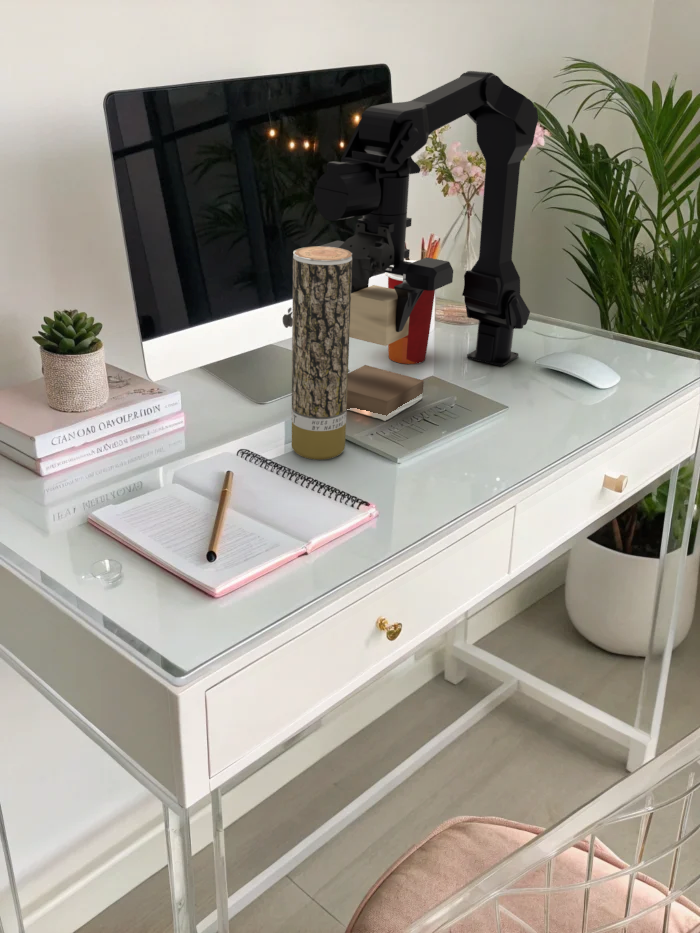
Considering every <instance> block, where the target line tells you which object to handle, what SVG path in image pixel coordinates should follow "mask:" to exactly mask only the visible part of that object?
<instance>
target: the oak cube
mask: <svg viewBox="0 0 700 933" xmlns="http://www.w3.org/2000/svg"><path fill="white" fill-rule="evenodd" d="M397 299H398V296H397V293H396V291H395V289H391V288H388V287H386V286H380V285H375V284H372V285H370V286H368V287H367V288H364V289H362V290H359V291H357V292H354V293H351V306H350V332H349V338H351V339H355V340H359V341H364V342H367V343H372V344H374V345H375V344H376V345H381V346H383V347H387V346H388V345H389V344H391V343H393V342H395V341H397V340H399V339H401V338H403V337H405V336H407V335H408V330H409V318H408V320H407V322H406V324H405V326H404V328H403V330H402V331H400V332H396V310H397Z"/></svg>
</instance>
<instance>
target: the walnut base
mask: <svg viewBox="0 0 700 933" xmlns="http://www.w3.org/2000/svg"><path fill="white" fill-rule="evenodd" d="M424 383H425V381H424V379H421V378H420V379H419V378H415V377H412V376H409V375H405V374H401V373H397V372H394V371H390V370H386V369H383V368H378V367H374V366H371V365H366V364H364V365H363V366H360V367H358V368H356V369H354V370H352V371H350V372H348V385H347V409H350V408H357V409H360V410H366V411H370V412H373V413H378V414H382V415H386V416H387V415H388V414H389V413H391V412H392V411H394V410H396V409H397V408H398V407H400V406H402V405H403V404H405V403H407V402H409V401H410V400H412V399H414V398H416V397H417V396H419V395H420V394H422V393H423V394H424Z"/></svg>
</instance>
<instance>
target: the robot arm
mask: <svg viewBox="0 0 700 933" xmlns="http://www.w3.org/2000/svg"><path fill="white" fill-rule="evenodd" d="M465 115H466V116H468V117H469V119H471V121H472V122H473V123H474V124H475V129H476V131H475V132H476V133H475V134H476V143H477V145H478V147H479V150H480V153H481V154H482V156H483V158H484V161H485V169H484V170H485V172H484V183H483V184H484V185H483V198H482V199H483V200H482V213H481V223H480V224H481V226H480V227H481V228H480V240H479V254H478V260H477V261H476V262H475V264H474V265H473V267H472V268H471V269H470V270H466V271H465V273H464V275H463V279H464V280H463V281H464V282H463V284H464V285H463V291H462V294H461V296H462V297H464V298H463V299H464V305H465V310H466V311H465V312H466V317H467V318H469V319H473V320H476V321H478V322H477V323H478V324H477V325H478V326H477V333H476V335H477V336H476V344H475V350H473V351H471V352H469V353H468V354H466V358H467V359H470V360H473V361H476V362H477V361H478V362H483V363H485V364H491V365H494V366H498V367H504V366H506V365H508V363H510V362H512V361H513V360H515V359H517V358H519V353H518V352H515V351H512V348H513V347H512V346H513V339H514V331H515V330H516V329H517V330H520V329H524V326H526V325H527V323H528V320H529V317H530V314H531V311H530V309H529V307H528V305H527V304H526V302H525V301H524V299H523V297H522V296H521V277H520V275H519V272H518V270H517V268H516V267H515V266H516V265H515V264H514V262H513V260H512V259H513V247H514V246H513V245H514V235H515V227H516V226H515V222H516V213H517V202H518V201H517V200H518V193H519V192H518V190H519V181H520V168H521V162H522V161H523V159H524V158H525V156H526V155H527V154H528V152H529V151H530V148H532V146H533V144H534V140H535V136H536V135H535V134H536V131H537V130H536V129H537V126H538V122H539V116H538V115H539V114H538V109H537V107H536V106H535V105H534V103H533V101H531V99H529V98H528V99H527V97H526V96H525V95H523V94H522V93H521V92H519V91H517V90H516V89H514V88H512V87H510V86H509V85H507V84H505V83H504V82H503V80H502V79H501V78H500V77H499V76H498V75H496V74H495V73H493V72H490V71H489V72H487V71H477V70H476V71H475V70H468V71H466V72H463V73H462V74H461V75H460V76H459V77H458V78H455V79H453V80H451V81H449V82H447V83H445V84H443V85H440V86H438V87H436V88H435V89H432V90H430V91H428V92H426V93H424V94H422V95H420V96H418V97H416V98H413V99H411V100H408V101H401V102H388V103H387V102H386V103H382V104H376V105H371V106H369V107H367V108H366V109H365V110H364V111H363V112H362V114H361V119H360V120H359V123H358V124H357V126H356V128H355V130H354V132H353V134H352V136H351V138H350V139H349V142H348V143H347V146H346V148H345V150H344V151H343V154H342V156H341V158H340V161H333V160H332V161H328V162H327V163H326V172H324V173H323V174H321V176H320V177H319V178H318V180H317V182H316V185H315V187H314V190H313V191H314V193H313V196H314V202H315V206H316V208H317V211H318V212H319V214H320V215H321V217H323V218H324V219H326V220H327V221H331V222H333V221H340V220H345V219H351V218H357V217H361V218H358V219H357V221H356V224H355V232H354V233H353V234H354V235H353V236H350V237H349V238H347V239H346V240H344V241H343V240H342V241H341V240H334V241H331V242H327V243H325V244H321V245H320V246H324V247H335V248H341V249H345V250H348V251H350V252H351V253H352V279H351V293H354V292H357V291H359V290H362V289H364V288H367V287H369V283H370V279H371V278H372V277H373V275H374V274H375V273H376V271H377V272H382V273H385V272H387V273H392V274H396V275H401V276H403V283H401V284H399V285H396V286H394V289H395V291H396V293H397V296H398V299H397V310H396V332H400V331H402V330H403V328H404V326H405V324H406V322H407V320H408V318H409V316H410V314H411V312H412V310H413V308H414V306H415V304H416V302H417V301H418V299H419V297H420V296H421V294H422V293H423V291H424V290H427V291H434V290H435V291H436V290H438V289H441V288H443V287H445V286H448V285H450V284H452V283H453V278H454V269H453V267H452V264H451V262H450V261H449V260H442V259H437V258H432V257H428V256H427V257H424V258H421V259H419V260H415V261H416V262H413V263H412V262H407V261H404V260H405V259H408V258H409V257H410V248H409V249H408V248H406V233H407V228H410V227H412V217H408V202H409V189H410V188H409V186H410V185H409V184H410V175H413V174H414V175H415V174H420V172H421V167H420V166H419V165H418V163H416V161H414V159H413V158H412V156H414V155H415V154H417V153H418V151H420V150H421V149H422V148H423V147H424V146H426V144H427V143H428V140H429V138H430V135H431V134H432V133H433V132H435V131H437V130H439V129H441V128H442V127H444V126H447V125H449V124H450V123H452V122H455V121H456V120H458V119H460V118H462V117H464V116H465ZM390 265H393V266H394V267H391V266H390ZM514 329H515V330H514Z"/></svg>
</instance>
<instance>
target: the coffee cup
mask: <svg viewBox="0 0 700 933" xmlns="http://www.w3.org/2000/svg"><path fill="white" fill-rule="evenodd" d="M404 261H407V262H412V263H413V262H416V261H417V260H415V259H414V260H412V259H411V260H409V259H408V260H407V259H406V260H405V259H404ZM390 266H391V267H394V266H393V265H390ZM384 274H385V276H387V288H391V289H394V286H396V285H399V284H401V283H403V276H401V275H396V274H392V273H387V272H384ZM435 293H436V290H434V291H427V290H424V291H423V293H422V294H421V296H420V297H419V299H418V301H417V302H416V304H415V306H414V308H413V310H412V312H411V314H410V316H409V330H408V335H407V336H405V337H403V338H401V339H399V340H397V341H395V342H393V343H391V344H389V345H387V346H388V348H387V349H388V350H387V351H388V359H389V360H390V361H392V362H394V363H397V364H401V365H402V364H403V365H417V364H421V363H423V362H425V359H426V357H427V350H428V345H429V337H430V330H431V323H432V317H433V316H432V315H433V309H434V308H433V307H434V302H435V301H434V300H435V295H436V294H435Z"/></svg>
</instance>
